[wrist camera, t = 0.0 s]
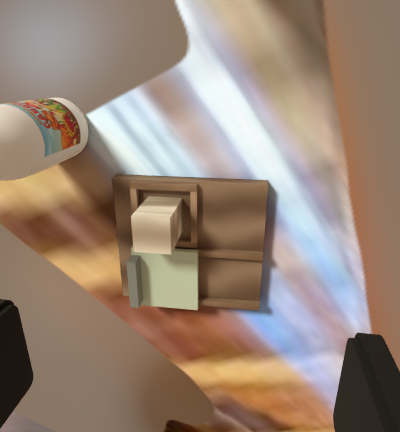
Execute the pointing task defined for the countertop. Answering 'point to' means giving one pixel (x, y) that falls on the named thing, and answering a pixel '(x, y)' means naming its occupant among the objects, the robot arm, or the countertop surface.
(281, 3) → the countertop surface
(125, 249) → the board
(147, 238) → the block
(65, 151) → the milk bottle
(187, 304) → the lid
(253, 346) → the countertop surface
